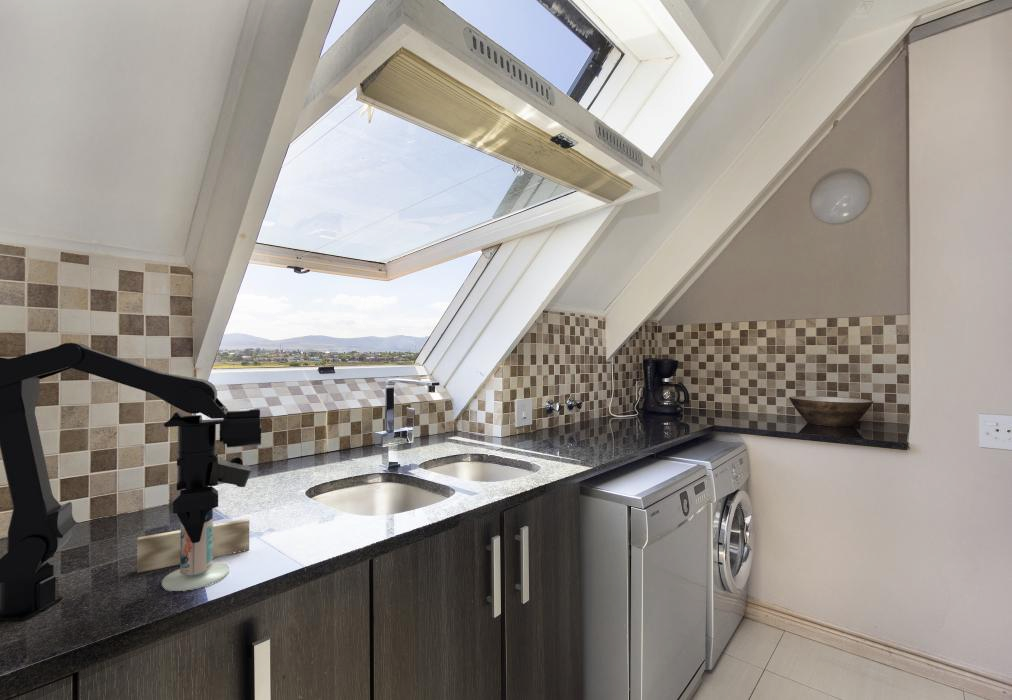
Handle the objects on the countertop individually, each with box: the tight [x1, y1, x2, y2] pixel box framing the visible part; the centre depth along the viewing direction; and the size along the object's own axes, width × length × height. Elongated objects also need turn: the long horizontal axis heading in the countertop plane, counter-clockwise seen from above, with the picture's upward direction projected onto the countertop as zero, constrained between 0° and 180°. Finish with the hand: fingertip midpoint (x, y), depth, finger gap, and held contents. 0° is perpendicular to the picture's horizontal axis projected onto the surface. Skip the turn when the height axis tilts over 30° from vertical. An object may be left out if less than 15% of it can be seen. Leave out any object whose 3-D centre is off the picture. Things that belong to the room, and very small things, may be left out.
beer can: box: [179, 508, 214, 576], centre depth 84 cm, size 5×5×12 cm
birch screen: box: [136, 518, 250, 574], centre depth 91 cm, size 18×2×6 cm, turn 123°
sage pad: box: [161, 561, 230, 592], centre depth 84 cm, size 10×10×1 cm
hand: (196, 537), depth 84 cm, fingers closed on beer can, 5 cm apart
